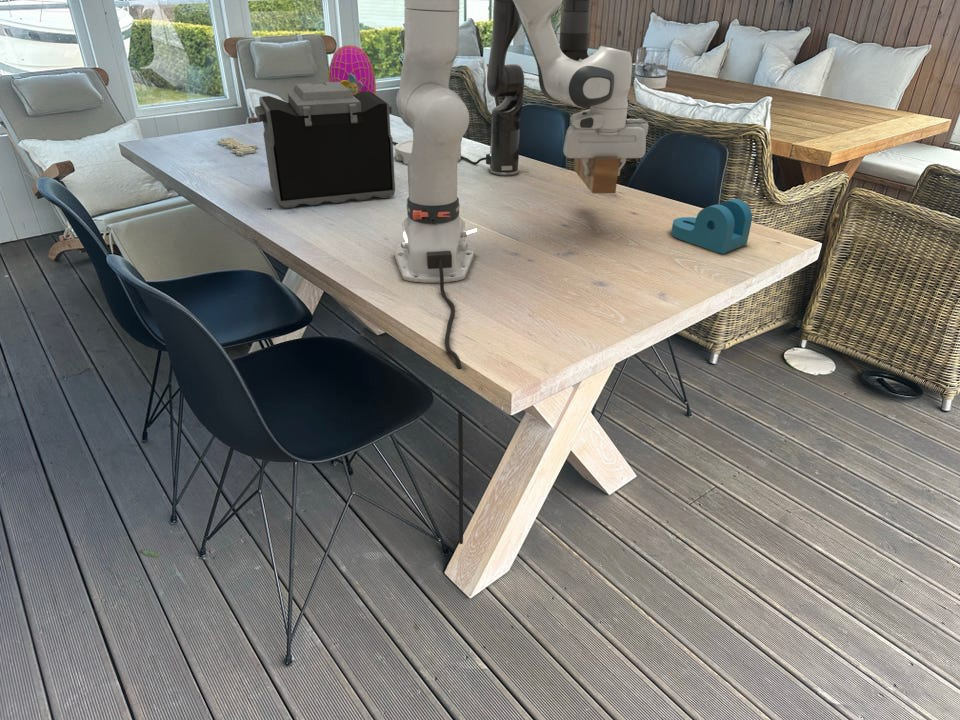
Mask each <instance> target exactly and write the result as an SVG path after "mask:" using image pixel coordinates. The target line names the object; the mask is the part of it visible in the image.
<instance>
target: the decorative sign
mask: <svg viewBox="0 0 960 720" xmlns="http://www.w3.org/2000/svg"><path fill="white" fill-rule="evenodd" d="M217 144H218V145H220V146H226V147H227V149H231V152H232V153H233V154H236V156H244V155H247V154H254V153H256V149H258V148H259V147H258V144H246V143H244V142H241V141H239V140H237V139H236V138H234V137H232V136H230V137H229V136H228V137H225V138H224V137H221V138H220V140H217Z"/></svg>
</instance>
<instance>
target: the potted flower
mask: <svg viewBox="0 0 960 720" xmlns="http://www.w3.org/2000/svg"><path fill="white" fill-rule="evenodd" d="M348 78H349V81H346V80H342V81H341V82H340V83H341V84H342V85H343V86H345V87H346V88H347V89H349V90H350V92H351V94H352V95H353V96H354V95H356V94H358V93H360V92H361V91H360V90H361V89H363V84H362V82H361V81H358V82H357V83H356V78H355V76H354V75H352V74H350V73H348Z"/></svg>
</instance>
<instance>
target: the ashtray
mask: <svg viewBox="0 0 960 720" xmlns="http://www.w3.org/2000/svg"><path fill="white" fill-rule="evenodd" d="M397 143H398V144H395V146H394V150H395V151H394V152H395V153H394V154H395V160H396V161H397V162H403V164H404V165H408V162H409V160H410V158H411V153H412V146H413V139H408V140H404V141H399V142H397ZM461 156H462V145H461V146H460V151H459V157H458V162H459V161H460V160H462V159H461Z"/></svg>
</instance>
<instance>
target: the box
mask: <svg viewBox="0 0 960 720" xmlns="http://www.w3.org/2000/svg"><path fill="white" fill-rule="evenodd" d="M573 160H574V161H573V171H574V172H575V173H576V174H577V177H579V178H580V180H581V181H582V183H583V184H584V185H585V186H586V188H587V189H588V190H589V191H590V192H591V194H596V195H597V194H616V191H617V185H618V184H617V183H618V177H619V176H618V168H619V162H620V161H619V160H620V159H619V158H618V157H594V158H589V159H588V163H586V164H587V166H588V168H591V169H592V172H591V176H585V175H584V170H585V168H584V166H583V164H582V162H581V158H573Z"/></svg>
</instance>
